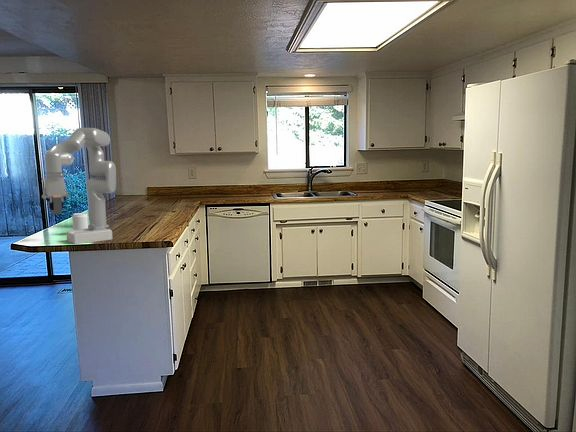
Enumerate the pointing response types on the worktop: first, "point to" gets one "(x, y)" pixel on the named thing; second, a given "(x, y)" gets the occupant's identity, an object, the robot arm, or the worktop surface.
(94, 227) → the shutter
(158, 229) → the worktop surface
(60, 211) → the plug
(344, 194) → the worktop surface
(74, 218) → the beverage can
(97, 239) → the socket block
